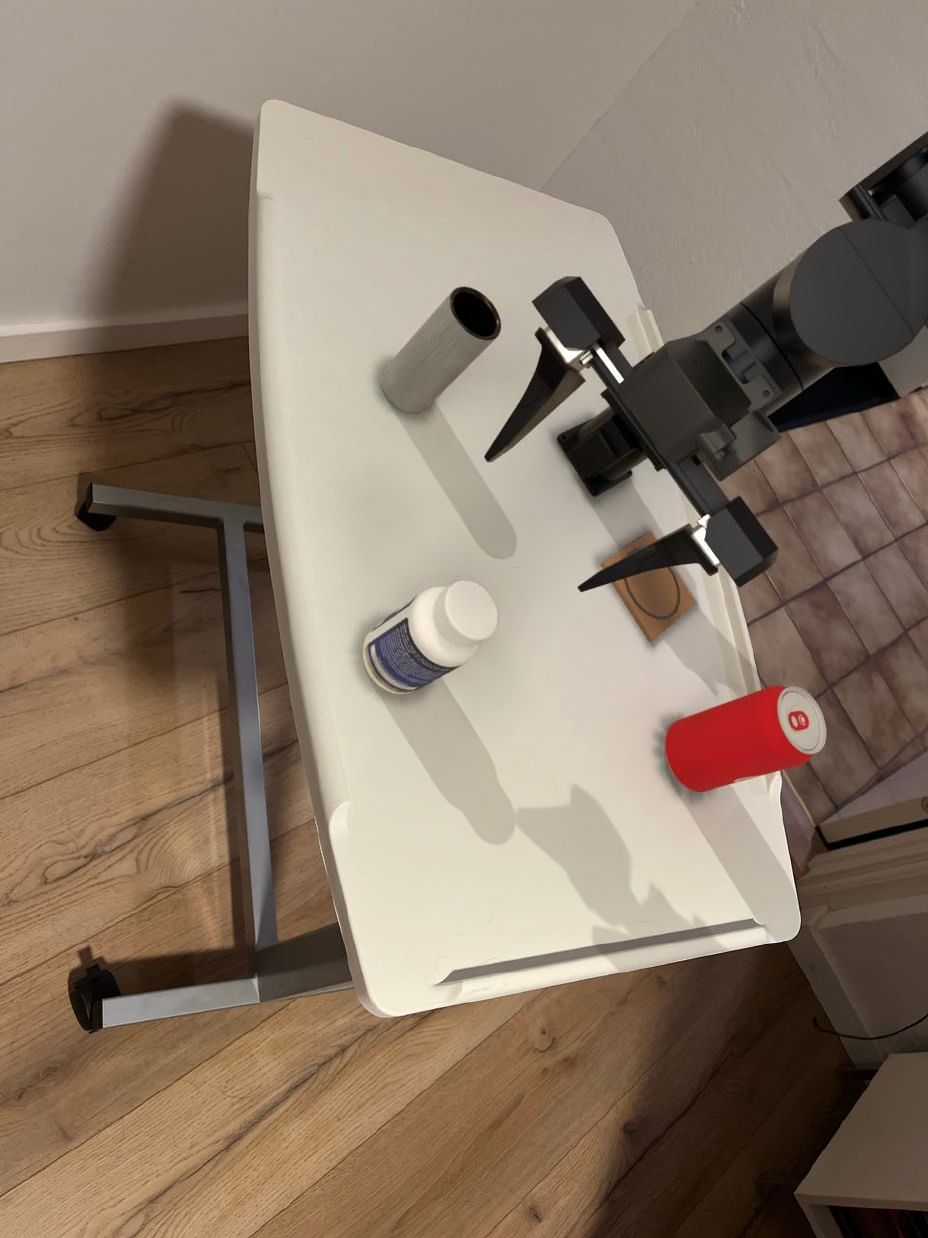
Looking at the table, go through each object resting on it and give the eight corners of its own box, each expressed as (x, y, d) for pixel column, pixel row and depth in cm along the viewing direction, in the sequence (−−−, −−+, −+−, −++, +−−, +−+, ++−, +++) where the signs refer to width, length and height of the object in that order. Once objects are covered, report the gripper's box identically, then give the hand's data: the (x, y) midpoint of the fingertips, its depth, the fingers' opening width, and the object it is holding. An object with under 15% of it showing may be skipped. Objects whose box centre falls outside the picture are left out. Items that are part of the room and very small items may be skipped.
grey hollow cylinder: (371, 389, 71) (441, 309, 63) (392, 354, 73) (461, 274, 66) (417, 424, 72) (491, 351, 64) (435, 389, 75) (509, 315, 67)
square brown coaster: (647, 532, 84) (651, 530, 84) (692, 605, 84) (697, 603, 84) (600, 564, 79) (604, 561, 78) (649, 641, 79) (653, 639, 78)
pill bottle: (419, 707, 63) (501, 664, 55) (352, 678, 61) (428, 629, 53) (433, 641, 66) (513, 591, 58) (370, 610, 63) (444, 555, 56)
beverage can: (719, 788, 77) (841, 755, 68) (671, 799, 74) (793, 766, 64) (697, 717, 79) (813, 676, 70) (649, 725, 75) (765, 682, 66)
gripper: (653, 153, 40) (391, 379, 45) (905, 494, 39) (611, 687, 44) (668, 221, 51) (454, 398, 55) (866, 491, 50) (632, 647, 55)
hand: (533, 524), depth 52 cm, fingers open, 9 cm apart
